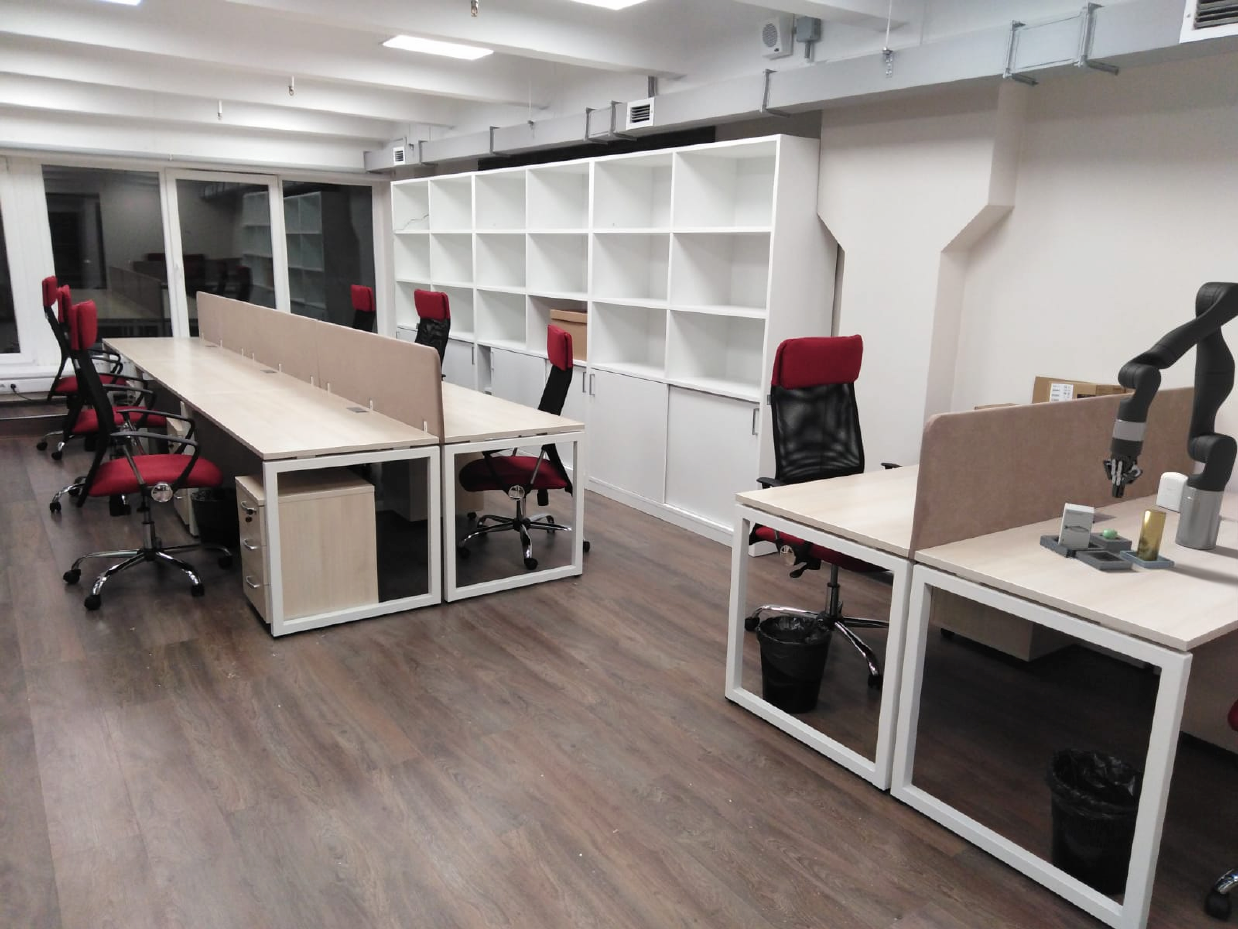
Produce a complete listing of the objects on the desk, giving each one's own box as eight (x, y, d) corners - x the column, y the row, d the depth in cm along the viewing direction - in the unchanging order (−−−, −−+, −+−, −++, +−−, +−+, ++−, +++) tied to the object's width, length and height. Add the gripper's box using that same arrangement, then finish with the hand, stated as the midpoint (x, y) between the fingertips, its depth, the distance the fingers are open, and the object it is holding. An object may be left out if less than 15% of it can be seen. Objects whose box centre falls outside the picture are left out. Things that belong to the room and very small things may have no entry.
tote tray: (1147, 557, 239) (1148, 550, 239) (1173, 568, 230) (1174, 561, 230) (1118, 557, 237) (1120, 551, 237) (1143, 569, 229) (1144, 562, 228)
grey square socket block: (1109, 543, 250) (1111, 532, 249) (1130, 553, 242) (1132, 541, 241) (1085, 544, 248) (1087, 532, 247) (1104, 553, 241) (1107, 541, 240)
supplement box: (1057, 551, 240) (1064, 508, 237) (1057, 544, 247) (1064, 502, 244) (1086, 557, 237) (1094, 512, 234) (1086, 549, 244) (1094, 506, 241)
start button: (1109, 539, 246) (1111, 528, 246) (1118, 542, 243) (1120, 532, 243) (1099, 539, 246) (1101, 529, 245) (1107, 543, 243) (1109, 532, 242)
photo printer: (1153, 504, 296) (1160, 469, 293) (1163, 504, 297) (1170, 469, 294) (1178, 513, 286) (1185, 477, 283) (1189, 513, 287) (1196, 477, 284)
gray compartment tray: (1076, 543, 249) (1078, 534, 248) (1135, 571, 227) (1137, 562, 227) (1038, 543, 247) (1039, 535, 246) (1094, 572, 225) (1095, 563, 224)
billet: (1146, 558, 237) (1156, 509, 233) (1161, 564, 232) (1171, 514, 229) (1130, 558, 236) (1140, 509, 233) (1144, 564, 231) (1154, 514, 228)
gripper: (1158, 441, 232) (1146, 504, 236) (1122, 432, 245) (1111, 491, 249) (1134, 441, 231) (1122, 504, 235) (1099, 431, 243) (1088, 491, 247)
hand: (1116, 497), depth 242 cm, fingers closed
